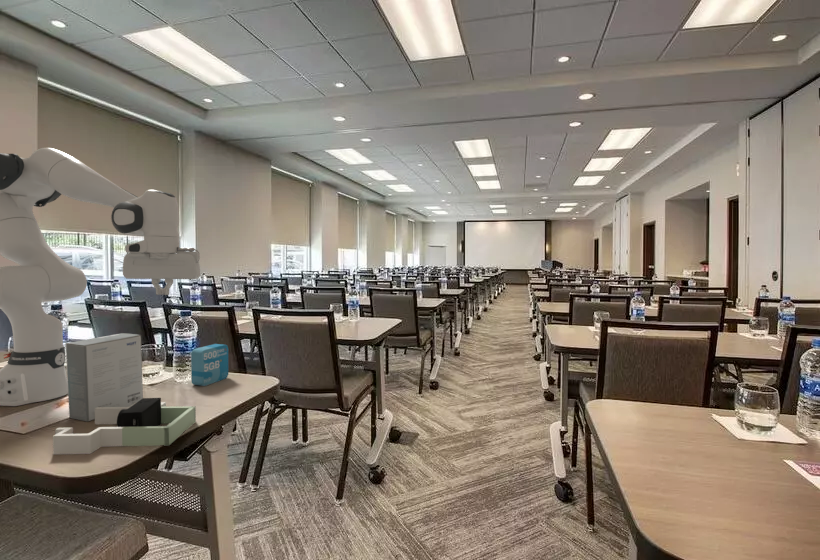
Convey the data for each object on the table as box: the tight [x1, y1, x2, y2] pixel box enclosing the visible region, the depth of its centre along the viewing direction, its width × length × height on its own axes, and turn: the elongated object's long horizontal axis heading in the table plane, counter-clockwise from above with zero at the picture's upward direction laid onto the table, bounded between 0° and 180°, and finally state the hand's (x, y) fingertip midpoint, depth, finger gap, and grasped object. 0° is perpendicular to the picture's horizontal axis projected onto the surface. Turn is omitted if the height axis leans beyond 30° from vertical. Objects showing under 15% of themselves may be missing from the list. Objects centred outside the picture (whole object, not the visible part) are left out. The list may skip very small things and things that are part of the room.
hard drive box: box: [65, 332, 144, 422], centre depth 116 cm, size 16×8×20 cm, turn 159°
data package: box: [190, 343, 229, 387], centre depth 144 cm, size 12×4×12 cm, turn 161°
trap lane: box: [52, 401, 197, 455], centre depth 102 cm, size 24×21×4 cm
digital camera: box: [116, 397, 162, 427], centre depth 102 cm, size 10×5×7 cm, turn 9°
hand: (162, 294), depth 124 cm, fingers closed
